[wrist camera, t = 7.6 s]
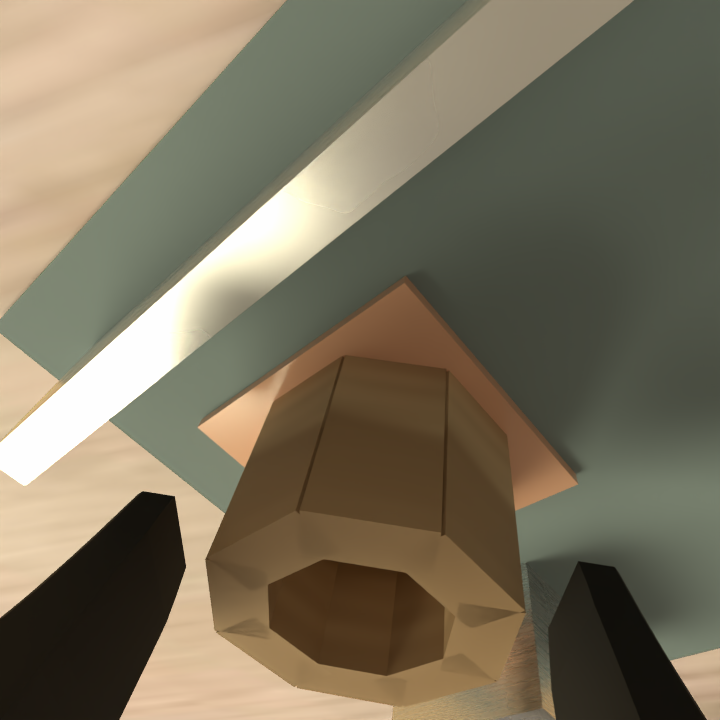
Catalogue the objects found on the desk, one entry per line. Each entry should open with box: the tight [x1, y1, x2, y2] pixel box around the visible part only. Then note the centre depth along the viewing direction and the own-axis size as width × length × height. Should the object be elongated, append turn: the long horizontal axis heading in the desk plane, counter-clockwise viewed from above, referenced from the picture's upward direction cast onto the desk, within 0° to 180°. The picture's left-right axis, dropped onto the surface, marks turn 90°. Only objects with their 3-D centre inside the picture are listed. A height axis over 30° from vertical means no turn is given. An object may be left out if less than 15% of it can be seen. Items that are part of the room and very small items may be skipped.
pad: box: [198, 276, 578, 511], centre depth 13 cm, size 6×6×1 cm
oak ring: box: [205, 355, 526, 707], centre depth 11 cm, size 5×5×4 cm
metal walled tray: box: [0, 0, 634, 720], centre depth 10 cm, size 15×15×4 cm
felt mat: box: [0, 0, 720, 660], centre depth 12 cm, size 18×18×1 cm
